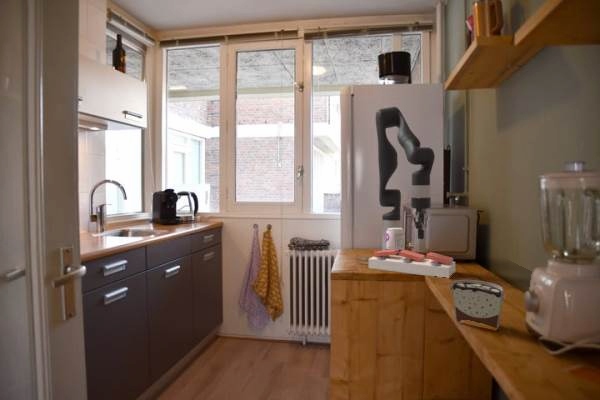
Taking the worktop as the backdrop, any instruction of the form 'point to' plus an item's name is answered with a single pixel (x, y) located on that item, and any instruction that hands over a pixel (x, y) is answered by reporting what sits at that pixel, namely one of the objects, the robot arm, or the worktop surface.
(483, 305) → the food container
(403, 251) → the rocker middle
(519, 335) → the worktop surface
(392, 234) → the supplement can
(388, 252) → the rocker
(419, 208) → the robot arm
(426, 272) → the power strip
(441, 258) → the rocker
